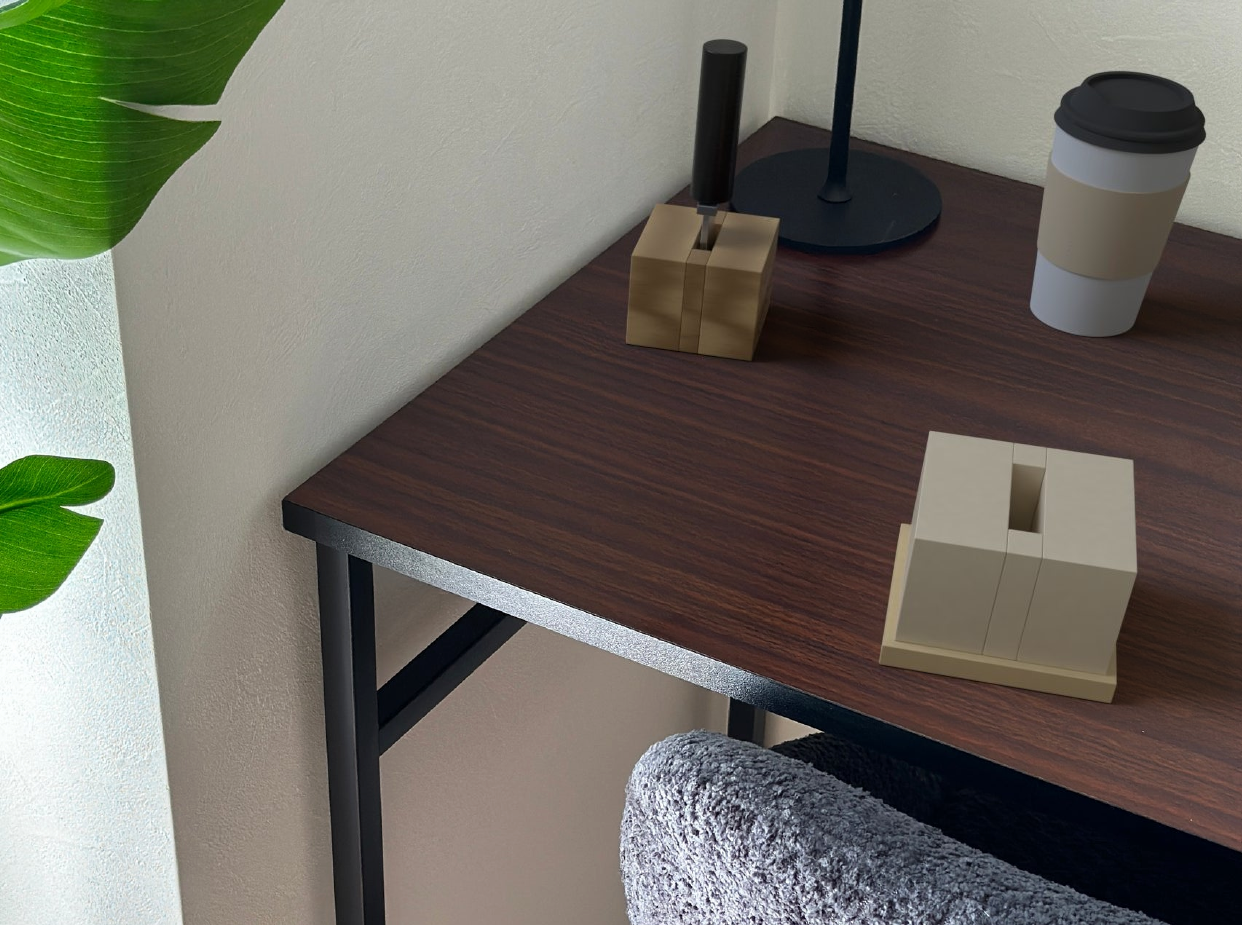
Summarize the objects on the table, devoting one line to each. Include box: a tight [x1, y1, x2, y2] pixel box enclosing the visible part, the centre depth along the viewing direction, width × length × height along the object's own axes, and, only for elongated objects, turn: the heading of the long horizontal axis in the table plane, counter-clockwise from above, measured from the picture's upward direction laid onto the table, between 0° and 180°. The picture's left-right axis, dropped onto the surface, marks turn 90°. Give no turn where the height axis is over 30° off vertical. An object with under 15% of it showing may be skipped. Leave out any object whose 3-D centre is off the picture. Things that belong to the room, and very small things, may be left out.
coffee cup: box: [1029, 70, 1207, 338], centre depth 108 cm, size 9×9×15 cm
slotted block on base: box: [878, 430, 1138, 704], centre depth 84 cm, size 11×11×7 cm
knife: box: [689, 38, 749, 252], centre depth 105 cm, size 3×3×18 cm
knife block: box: [625, 202, 781, 362], centre depth 108 cm, size 8×8×6 cm
